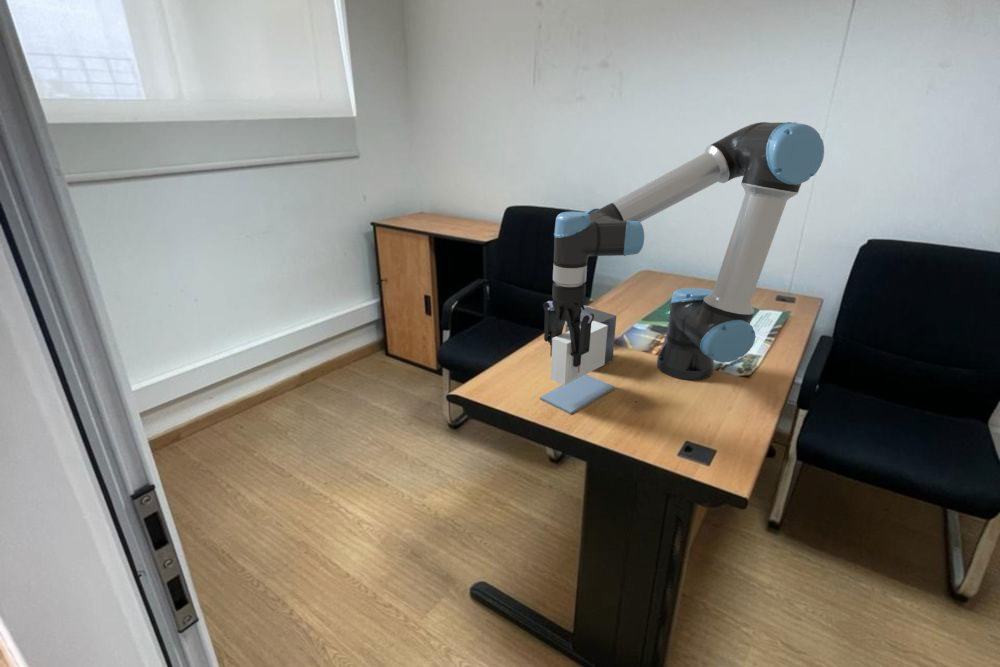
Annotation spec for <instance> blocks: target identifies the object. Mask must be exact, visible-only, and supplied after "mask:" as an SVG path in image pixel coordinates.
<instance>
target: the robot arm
mask: <svg viewBox="0 0 1000 667" xmlns="http://www.w3.org/2000/svg"><path fill="white" fill-rule="evenodd" d="M824 155H825V145H824V141H823V139H822V138H821V135H820V133H819V132H818V131H817V130H816V128H814V127H812V126H811V125H808V124H805V123H799V122H791V121H790V122H789V121H788V122H787V121H786V122H770V121H769V122H768V121H767V122H765V121H764V122H763V121H762V122H755V123H752V124H748V125H746V126H744V127H741V128H739V129H737V130H736V131H734V132H731V133H730V134H728V135H726V136H723V138H720V139H719V140H717V141H715V142H713V143H711V144H710V145H707V146H706V147H705V151H704V153H701V155H700V154H699V156H696V157H695V158H693V159H691V160H689V161H687V162H685V163H683V164H682V165H680V166H678V167H676V168H674V169H672V170H670V171H669V172H666V173H664V174H663V175H661V176H659V177H657V178H655V179H654V180H651V181H649V182H648V183H646V184H645V185H643V186H641V187H640V186H639V188H637V189H635V190H633V191H631V192H629V193H628V194H626V195H624V196H622V197H620V198H619V199H616V200H615V201H612V202H611V203H609V204H606V205H605V206H603V207H601V208H596V207H595V208H591V209H590V208H589V209H587V210H586V211H585V212H583V211H564V212H563V211H562V212H560V213H559V214H557V216H556V218H555V224H554V233H553V236H554V241H553V242H554V243H553V245H554V247H553V248H554V249H553V265H552V266H553V269H552V281H553V282H552V290H551V291H552V294H551V295H552V300H548V301H546V302H543V304H542V306H543V310H544V330H543V332H544V334H543V336H544V337H543V339H544V340H543V341H545V342H548V343H549V346H550V357H552V338H554V337H556V336H558V335H561V334H563V333H564V332H563V331H564V328H565V325H566V324H565V321H566V322H567V326H568V327H569V331H570V338H571V346H572V353H570V354H569V372H568V378H569V379H572V378H574V377H576V376H578V366H580V364H581V355H583V354H585V353H587V352H589V346H590V334H591V323H592V321H593V319H594V315H593V314H592V313H591V314H588V313H587V312H586V311H585V309H584V306H585V305H584V301H585V298H586V292H587V291H586V289H587V285H586V282H587V274H588V273H587V272H588V259H589V257H610V256H612V257H613V256H615V257H616V256H618V257H619V256H623V257H626V256H631V255H632V256H633V255H638V254H639V253H640V252H641V251H642V250H643V248H644V247H643V246H644V243H645V242H644V241H645V230H644V226H643V225H642V222H643V221H646V220H647V219H649V218H651V217H654V216H655V215H657V214H660V213H661V212H663V211H664V210H666V209H669V208H670V207H672V206H674V205H676V204H678V203H680V202H682V201H683V200H685V199H687V198H689V197H692V196H693V195H694V194H697V193H699V192H701V191H703V190H705V189H707V188H709V187H711V186H712V185H715V184H716V183H720V184H726V183H728V182H729V181H732V180H734V179H736V178H740V177H742V180H741V184H740V185H741V187H742V188H743V190H744V197H743V200H742V203H741V206H740V209H739V212H738V215H737V218H736V221H735V224H734V227H733V229H732V233H731V236H730V238H729V239H730V240H729V242H728V245H727V249H726V251H725V253H724V257H723V259H722V262H721V267H720V270H719V272H718V275H717V279H716V281H715V285H714V287H713V289H710V288H706V287H705V288H704V287H683V288H678V289H676V290H675V291H673V293H672V297H671V300H670V307H669V308H670V310H669V317H668V325H667V335H666V340H665V342H664V344H663V346H662V348H661V349H660V351H659V353H658V355H657V360H656V367H657V368H658V370H660V371H661V372H663V373H664V374H665V375H668V376H670V377H674V378H677V379H681V380H682V379H683V380H688V381H689V380H693V381H694V380H695V381H696V380H703V379H708V378H709V377H711V376H712V375H713V374H714V370H715V362H718V363H730V362H735V361H737V360H739V359H740V358H742V357H744V356H746V355H747V354H748V353H749V351H751V349H752V348H753V346H754V344H755V341H756V332H755V330H754V326H753V325H751V322H752V319H753V317H754V316H753V315H754V313H755V309H754V307H753V306H752V304H751V301H752V298H753V296H754V293H755V292H756V291H755V290H756V288H757V284H758V282H759V279H760V276H761V274H762V271H763V268H764V265H765V262H766V260H767V257H768V255H769V251H770V249H771V247H772V244H773V241H774V237H775V235H776V232H777V229H778V226H779V224H780V222H781V219H782V216H783V213H784V210H785V207H786V204H787V202H788V200H790V199H792V198H793V197H795V196H796V195H798V194H799V191H800V188H801V186H802V184H803V183H806V182H808V181H809V180H810V179H811V177H814V176H815V175H816V174H817V172H818V171H819V169H820V168H821V167H822V163H823V161H824V157H825V156H824ZM580 316H581V319H580ZM580 320H581V321H582V322H581V321H580ZM580 323H581V326H580Z"/></svg>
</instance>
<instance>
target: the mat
mask: <svg viewBox="0 0 1000 667" xmlns="http://www.w3.org/2000/svg"><path fill="white" fill-rule="evenodd" d="M614 389H615V386H614V385H613V384H610V383H608V382H605V381H603V380H600V379H598V378H596V377H593V376H590V375H588V374H585V375H584V376H582V377H580V378H578V379H576V380H574V381H572V382H570V383H568V384H566V385H563V384H561V385H560V386H558V387H556V388H554V389H552V390H550V391H548V392H547V393H545V394H543V395H541V396H539V400H541V401H543V402H545V403H547V404H549V405H551V406H553V407H555V408H557V409H559V410H561V411H564V412H566V413H567V414H569V415H572V414H573V413H575V412H577V411H579V410H580V409H582V408H584V407H586V406H587V405H590V403H592V402H594V401H596V400H597V399H599V398H601V397H602V396H604V395H606V394H607V393H609V392H610V391H611V392H612V390H614Z"/></svg>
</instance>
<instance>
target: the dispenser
mask: <svg viewBox="0 0 1000 667" xmlns="http://www.w3.org/2000/svg"><path fill="white" fill-rule="evenodd" d="M593 308H594V307H592V308H589V307H587V308H584V309H585V311H586V312H587V313H588V314H591V313H592V314H593V315H594V319H593V321H596V322H599V323H602V324H605V325H608V329H607V340H606V352H605V364H604V365H606V364H608V363H610V362H612V361H613V359H614V349H615V348H614V347H615V339H616V338H615V336H616V326H617V324H616V323H617V315H615V314H612V313H609V312H606V311H602V310H599V309H596V308H594V309H593ZM580 319H581V316H580ZM580 321H581V320H580ZM581 322H582V321H581ZM564 325H565V332H568V331H569V327H568V326H567V322H566V321H565V324H564ZM580 326H581V323H580ZM565 332H564V333H565ZM604 365H603V366H604Z"/></svg>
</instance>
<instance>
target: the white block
mask: <svg viewBox="0 0 1000 667" xmlns="http://www.w3.org/2000/svg"><path fill="white" fill-rule="evenodd" d="M607 329H608V325H605V324H602V323H599V322H596V321H592V323H591V334H590V346H589V352H587V353H585V354H583V355H581V364H580V366H578V376H576V377H574V378H572V379H569V378H568V372H569V354H570V353H572V346H571V338H570V331H568V332H562V334H561V335H558V336H556V337H554V338H552V357H551V356H550V357H551V361H550V364H551V365H550V380H552V381H554V382H556V383H558V384H561V385H566V384H568V383H570V382H572V381H574V380H576V379H578V378H580V377H582V376H584V375H585V374H586V375H588V374H589V373H591V372H593V371H596V370H597V369H599V368H601V367H602V366H604V364H605V352H606V340H607ZM605 365H606V364H605Z"/></svg>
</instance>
